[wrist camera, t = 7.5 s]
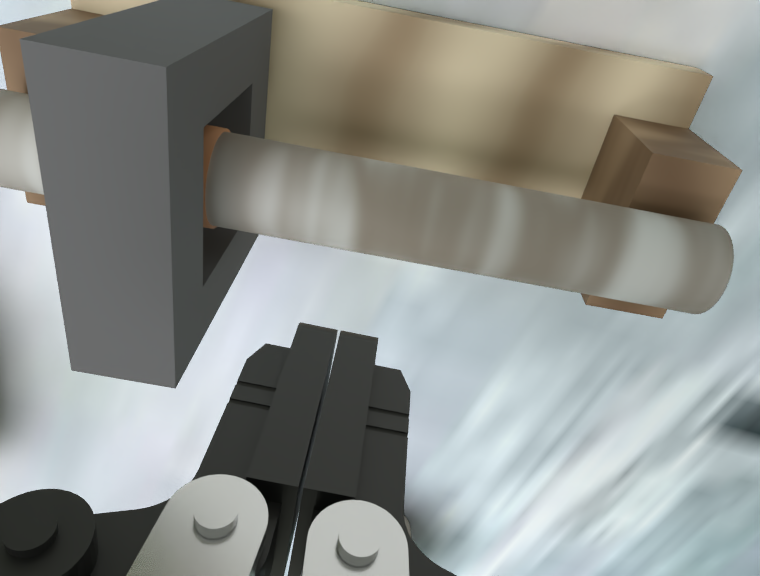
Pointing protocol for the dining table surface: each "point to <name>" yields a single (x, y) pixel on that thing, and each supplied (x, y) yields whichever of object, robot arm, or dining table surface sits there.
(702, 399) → the dining table surface
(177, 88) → the collar
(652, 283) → the pipe rig
